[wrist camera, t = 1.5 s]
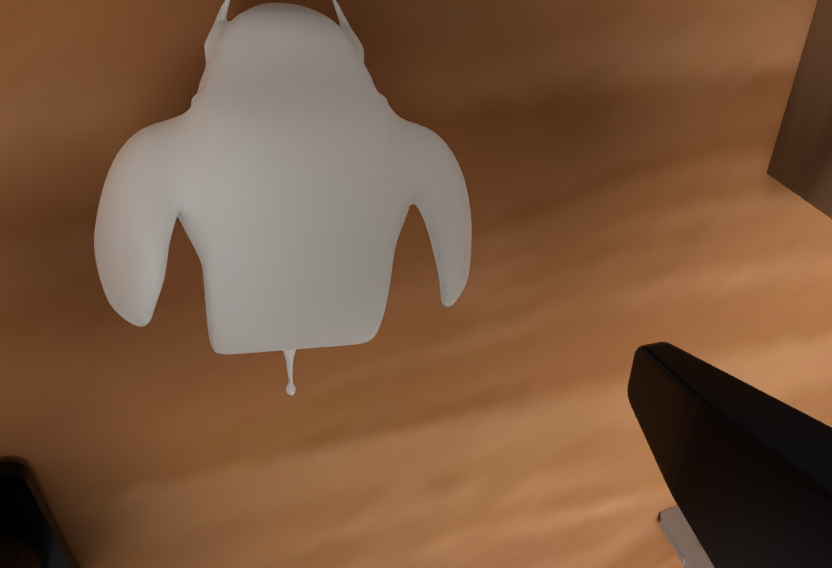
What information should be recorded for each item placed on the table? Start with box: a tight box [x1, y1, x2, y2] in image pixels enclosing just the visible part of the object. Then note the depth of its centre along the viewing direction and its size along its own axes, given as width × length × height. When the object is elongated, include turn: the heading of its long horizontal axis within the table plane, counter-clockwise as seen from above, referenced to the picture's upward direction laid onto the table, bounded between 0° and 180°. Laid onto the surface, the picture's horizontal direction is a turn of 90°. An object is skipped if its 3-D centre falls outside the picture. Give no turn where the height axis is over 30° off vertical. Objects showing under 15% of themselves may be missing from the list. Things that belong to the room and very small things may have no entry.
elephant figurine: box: [94, 0, 472, 396], centre depth 14 cm, size 7×8×6 cm
